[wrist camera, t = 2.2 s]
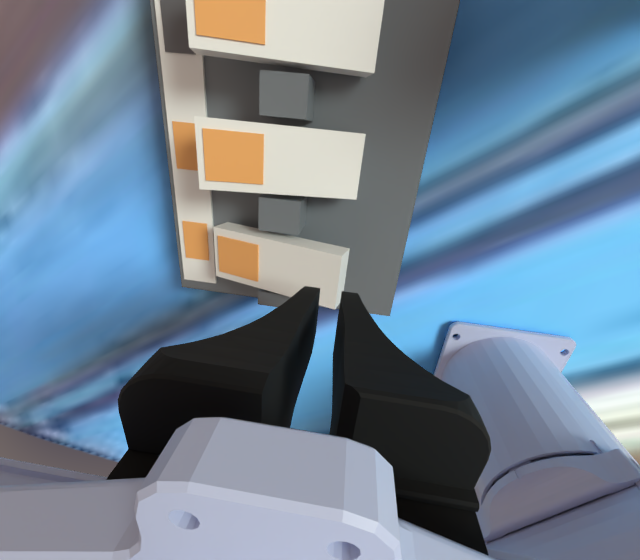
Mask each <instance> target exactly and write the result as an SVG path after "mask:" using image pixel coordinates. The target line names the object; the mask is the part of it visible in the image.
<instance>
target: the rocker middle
mask: <svg viewBox="0 0 640 560" xmlns="http://www.w3.org/2000/svg"><path fill="white" fill-rule="evenodd" d="M194 122H195V136H196V149H197V163H198V176H199V189H204V190H219V191H234V192H249V193H264V194H279V195H294V196H309V197H324V198H339V199H354V200H356V199H357V192H358V185H359V178H360V171H361V164H362V157H363V150H364V143H365V136H366V134H362V133H353V132H343V131H333V130H324V129H314V128H305V127H295V126H285V125H276V124H266V123H257V122H247V121H238V120H228V119H218V118H209V117H199V116H194Z"/></svg>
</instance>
